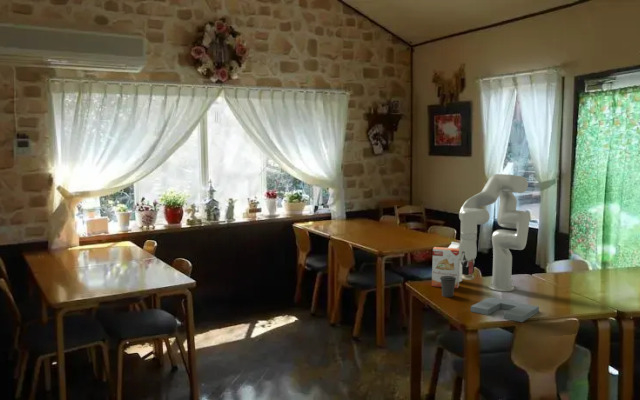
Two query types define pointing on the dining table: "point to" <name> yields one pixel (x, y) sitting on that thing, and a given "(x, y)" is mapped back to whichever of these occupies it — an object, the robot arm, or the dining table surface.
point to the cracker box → (445, 265)
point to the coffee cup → (447, 285)
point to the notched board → (514, 308)
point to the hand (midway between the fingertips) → (468, 273)
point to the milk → (456, 245)
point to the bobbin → (470, 276)
